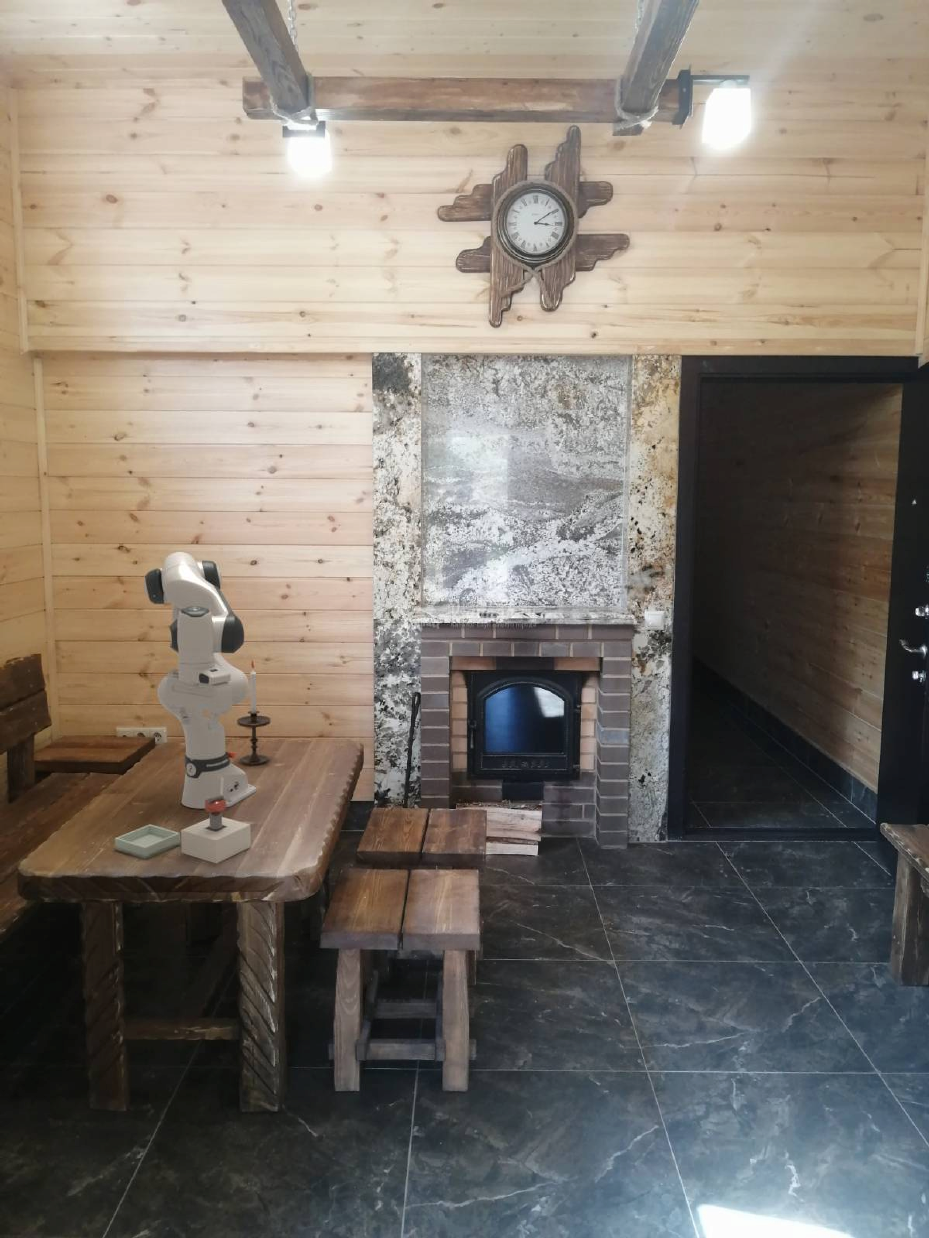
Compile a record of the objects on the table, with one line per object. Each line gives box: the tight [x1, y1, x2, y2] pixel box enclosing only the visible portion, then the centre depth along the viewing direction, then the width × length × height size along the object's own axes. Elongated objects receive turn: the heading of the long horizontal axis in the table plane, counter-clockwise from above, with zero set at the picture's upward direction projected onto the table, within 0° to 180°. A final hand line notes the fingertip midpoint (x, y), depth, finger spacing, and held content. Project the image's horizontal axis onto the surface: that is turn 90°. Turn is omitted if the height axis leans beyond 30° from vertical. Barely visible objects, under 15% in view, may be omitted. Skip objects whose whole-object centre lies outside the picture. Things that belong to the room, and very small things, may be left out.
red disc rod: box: [204, 795, 227, 832], centre depth 226 cm, size 5×5×14 cm
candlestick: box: [236, 660, 271, 767], centre depth 296 cm, size 11×11×35 cm
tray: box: [114, 824, 181, 860], centre depth 228 cm, size 11×11×3 cm
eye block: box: [180, 816, 252, 865], centre depth 227 cm, size 12×12×6 cm
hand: (198, 726), depth 223 cm, fingers open, 8 cm apart
